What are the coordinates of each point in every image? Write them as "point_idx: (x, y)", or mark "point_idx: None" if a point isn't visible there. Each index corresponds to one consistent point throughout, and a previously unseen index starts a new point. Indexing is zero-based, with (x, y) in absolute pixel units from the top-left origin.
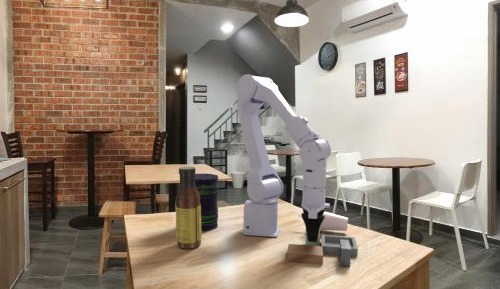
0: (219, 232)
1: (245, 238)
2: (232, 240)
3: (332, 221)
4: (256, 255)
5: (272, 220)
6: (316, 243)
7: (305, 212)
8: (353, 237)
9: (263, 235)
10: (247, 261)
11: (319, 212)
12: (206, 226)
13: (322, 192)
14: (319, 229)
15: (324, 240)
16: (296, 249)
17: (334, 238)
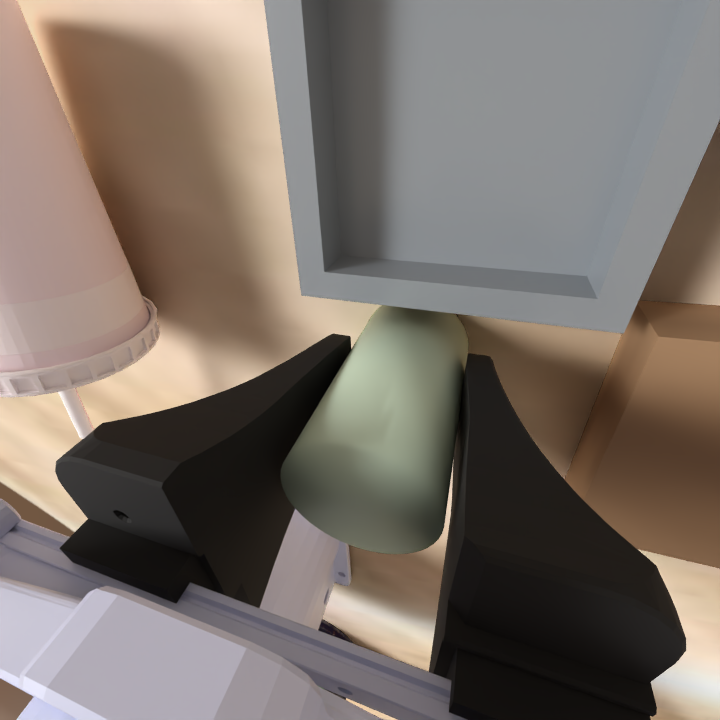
0: (346, 616)
1: (386, 578)
2: (420, 611)
3: (25, 194)
4: None
5: (287, 580)
6: (460, 338)
7: (261, 584)
8: None
9: None
10: (697, 640)
11: (215, 499)
12: None
13: None
14: (412, 386)
15: (453, 288)
16: (713, 523)
17: (323, 169)
